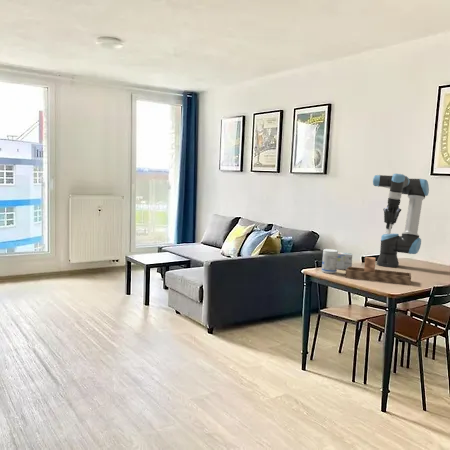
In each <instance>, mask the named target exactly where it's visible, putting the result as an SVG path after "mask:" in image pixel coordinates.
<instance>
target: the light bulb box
mask: <svg viewBox="0 0 450 450" xmlns="http://www.w3.org/2000/svg"><path fill="white" fill-rule="evenodd" d="M348 267H353V253H351V252H338V259H337V270H344V269H345V270H344V271H346V269H347V268H348Z"/></svg>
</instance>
